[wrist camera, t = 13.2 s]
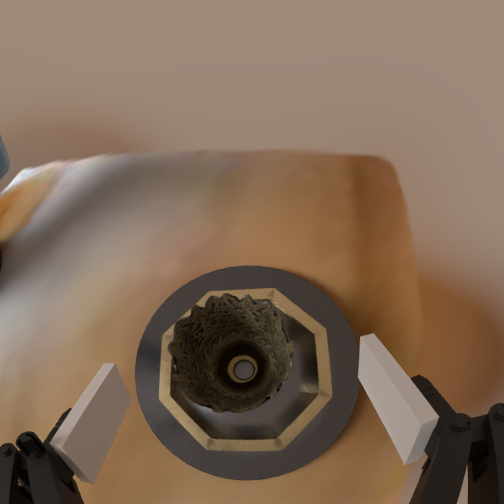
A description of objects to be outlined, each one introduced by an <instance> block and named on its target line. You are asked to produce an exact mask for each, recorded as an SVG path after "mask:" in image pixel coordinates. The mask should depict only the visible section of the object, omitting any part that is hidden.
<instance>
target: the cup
mask: <svg viewBox="0 0 504 504" xmlns="http://www.w3.org/2000/svg"><path fill="white" fill-rule="evenodd" d="M167 349H168V353H169V354H171V356H172V357H173V358H174V368H175V370H176V373H177V374H176V375H175V374H174V375H173V378H174V381H175V382H176V384H177V385H178V386H180V387H181V388H182V389H183V392H184V394H185V395H186V397H187V398H188V399H189V400H190V401H192V402H193V403H195V404H198V405H200V406H203V407H207V408H210V409H212V411H213V412H216V413H223V412H231V413H243V412H247V411H248V410H252V409H255V408H257V407H259V406H261V405H262V404H264V403H266V402H267V400H269V399H271V398H273V397H274V396H275V395H276V394H277V393H278V392H279V391H280V388H281V387H282V386H283V384H284V383H285V382H286V381H287V379H288V377H289V375H290V373H291V370H292V366H293V354H294V343H293V342H290V339H289V336H288V332H287V331H286V329H285V327H284V320H283V317H282V316H281V315H277V313H276V311H275V310H274V308H273V306H272V305H271V304H270V303H269V302H267V301H260V302H256V301H254V300H253V298H252V297H251V296H250V295H249V294H245V295H243V296H242V298H241V300H239V299H238V298H237V297H236V296H233V295H231V294H229V293H224V294H223V295H222V296H220V297H218V296H213V295H212V296H210V297H208V298H207V300H206V302H205V307H200V306H198V305H197V304H194V305H193V306H192V307H191V315H189V316H188V317H183V318H181V319H179V320H178V321H177V322H176V323H175V325H174V329H173V341H170V342H169V344H168V346H167ZM240 361H248V362H250V363H251V364H252V366H253V369H254V371H253V374H252V376H251V377H249V378H247V379H240V378H238V377H237V376H236V375H235V373H234V367H235V365H236V364H237V363H238V362H240Z"/></svg>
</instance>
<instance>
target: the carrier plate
mask: <svg viewBox="0 0 504 504" xmlns="http://www.w3.org/2000/svg"><path fill="white" fill-rule="evenodd" d="M224 293H229V294H231V295H233V296H236V297H237V298H238V299H239V300H241V298H242V296H243V295H245V294H249V295H250V296H251V297H252V298H253V300H254V301H256V302H260V301H267V302H269V303H270V304H271V305H272V306H273V308H274V310H275V311H276V313H277V315H281V316H282V317H283V320H284V327H285V329H286V331H287V332H288V336H289V339H290V342H293V343H294V354H293V366H292V370H291V373H290V375H289V377H288V379H287V381H286V382H285V383H284V384H283V386H282V387H281V388H280V391H279V392H278V393H277V394H276V395H275V396H274V397H273V398H271V399H269V400H267V402H266V403H264V404H262V405H261V406H259V407H257V408H255V409H252V410H248V411H247V412H243V413H231V412H223V413H216V412H213V411H212V409H210V408H207V407H203V406H200V405H198V404H195V403H193V402H192V401H190V400H189V399H188V398H187V397H186V395H185V394H184V392H183V389H182V388H181V387H180V386H178V385H177V384H176V382H175V381H174V378H173V375H174V374H175V375H176V374H177V373H176V370H175V368H174V358H173V357H172V356H171V354H169V353H168V349H167V346H168V344H169V342H170V341H173V329H174V325H175V323H176V322H177V321H178V320H179V319H181V318H183V317H188V316H189V315H191V307H192V306H193V305H194V304H197V305H198V306H200V307H205V302H206V300H207V298H208V297H210V296H212V295H213V296H218V297H220V296H222V295H223V294H224ZM358 369H359V350H358V345H357V342H356V339H355V336H354V334H353V331H352V329H351V327H350V325H349V323H348V321H347V319H346V318H345V316H344V315H343V313H342V312H341V311H340V309H339V308H338V307H337V305H336V304H335V303H334V302H333V301H332V300H331V299H330V298H329V297H328V296H327V295H326V294H325V293H323V292H322V291H321V290H320V289H319V288H317V287H316V286H314V285H313V284H311V283H310V282H308V281H306V280H304V279H302V278H300V277H298V276H296V275H294V274H291V273H288V272H286V271H283V270H279V269H274V268H270V267H262V266H237V267H228V268H224V269H220V270H216V271H213V272H210V273H207V274H204V275H202V276H200V277H198V278H196V279H194V280H192V281H190V282H188V283H187V284H185V285H184V286H182V287H181V288H179V289H178V290H177V291H176V292H174V293H173V294H172V295H171V296H170V297H169V298H168V299H167V300H166V301H165V302H164V303H163V304H162V305H161V306H160V307H159V309H158V310H157V311H156V313H155V314H154V315H153V317H152V318H151V320H150V322H149V323H148V325H147V327H146V329H145V331H144V334H143V336H142V338H141V341H140V345H139V348H138V352H137V358H136V365H135V382H136V390H137V395H138V399H139V403H140V407H141V409H142V412H143V414H144V416H145V419H146V421H147V422H148V424H149V426H150V427H151V429H152V431H153V432H154V434H155V435H156V436H157V438H158V439H159V440H160V441H161V443H162V444H163V445H164V446H165V447H166V448H167V449H168V450H170V451H171V452H172V453H173V454H174V455H175V456H177V457H178V458H179V459H181V460H182V461H184V462H185V463H187V464H188V465H190V466H192V467H194V468H196V469H198V470H200V471H203V472H205V473H208V474H211V475H214V476H218V477H222V478H227V479H234V480H262V479H267V478H272V477H277V476H281V475H283V474H286V473H289V472H292V471H294V470H296V469H298V468H300V467H302V466H304V465H306V464H308V463H310V462H311V461H312V460H314V459H315V458H317V457H318V456H319V455H321V454H322V453H323V452H324V451H325V450H326V449H327V448H328V447H329V446H331V445H332V444H333V442H334V441H335V440H336V439H337V437H338V436H339V435H340V434H341V432H342V431H343V429H344V428H345V426H346V424H347V423H348V421H349V419H350V417H351V415H352V412H353V410H354V407H355V405H356V402H357V398H358V394H359V389H360V380H359V378H358ZM253 371H254V369H253V366H252V364H251V363H250V362H248V361H240V362H238V363H237V364H236V365H235V367H234V373H235V375H236V376H237V377H238V378H240V379H247V378H249V377H251V376H252V374H253Z"/></svg>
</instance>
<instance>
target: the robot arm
mask: <svg viewBox="0 0 504 504" xmlns="http://www.w3.org/2000/svg"><path fill="white" fill-rule="evenodd" d="M9 166H10V161H9V157H8V154H7V151H6V148H5V146H4V143H3V140H2V138H1V136H0V180H1V179H2V178H3V177H4V176H5V175H6V174H7V172H8V169H9ZM1 259H2V256H1V250H0V268H1ZM358 378H359V380H360V382H361V384H362V386H363V387H364V389H365V391H366V393H367V395H368V397H369V398H370V400H371V402H372V404H373V406H374V408H375V409H376V411H377V413H378V415H379V417H380V419H381V421H382V423H383V424H384V426H385V428H386V430H387V432H388V434H389V436H390V438H391V440H392V442H393V443H394V445H395V447H396V449H397V451H398V453H399V455H400V457H401V459H402V461H403V463H404V465H406V464H409V463H411V462H414V461H416V460H418V459H420V458H421V457H422V455H423V453H424V451H425V453H426V454H427V456H428V458H427V460H426V462H425V463H424V465H423V467H422V469H423V471H422V474H421V476H420V479H419V482H418V484H417V487H416V489H415V491H414V494H413V496H412V498H411V501H410V503H409V504H456V503H457V501H458V497H459V494H460V491H461V487H462V483H463V479H464V475H465V471H466V467H467V465H468V504H504V403H498V404H495V405H493V406H492V407H491V408H490V410H489V412H488V414H486V415H482V416H478V417H474V418H470V417H469V416H468V415H465V414H462V413H456V412H455V411H454V410H453V409H452V408H451V406H450V405H449V404H448V403H447V402H446V400H445V399H444V398H443V397H442V396H441V394H440V393H438V391H437V390H436V388H434V386H433V385H432V384H431V382H430V381H429V380H428V379H426V378H424V377H422V376H421V375H417V376H414V377H412V378H409V377H408V375H407V374H406V373H405V372H404V370H403V369H402V368H401V367H400V365H399V364H398V363H397V361H396V360H395V359H394V358H393V356H392V355H391V354H390V353H389V352H388V350H387V349H386V348H385V347H384V345H383V344H382V343H381V342H380V340H379V339H378V338H377V337H376V336H375V334H374V333H373V334H369V335H365V336H360V353H359V369H358ZM131 401H132V400H131V398H130V396H129V393H128V391H127V389H126V387H125V385H124V383H123V380H122V378H121V376H120V374H119V371H118V369H117V367H116V364H115V363H104V364H103V366H102V367H101V368H100V370H99V371H98V373H97V374H96V375H95V377H94V378H93V380H92V381H91V382H90V384H89V385H88V387H87V388H86V389H85V391H84V392H83V394H82V395H81V397H80V398H79V399H78V401H77V402H76V404H75V405H74V407H73V408H69V409H68V410H67V411H66V412H64V413H63V414H62V416H61V417H60V419H59V422H57V423H56V425H55V427H54V428H53V429H52V430H51V432H50V433H49V435H48V437H47V438H46V440H45V441H44V443H42V442H41V440H40V439H39V438H38V436H37V435H36V434H35V433H34V432H30V431H28V432H24V433H22V434H21V435H20V436H18V438H17V440H16V445H17V446H18V447H19V449H20V450H21V451H18V450H17V448H16V447H15V446H14V445H13V444H11V443H5V444H3V445H1V447H0V504H84V502H83V500H82V497H81V495H80V492H79V490H78V487H77V484H76V482H75V480H74V479H73V476H74V474H75V475H76V476H77V477H78V478H79V479H80V480H81V481H85V482H88V483H92V484H94V482H95V480H96V477H97V475H98V473H99V470H100V468H101V466H102V463H103V461H104V459H105V457H106V454H107V452H108V450H109V448H110V446H111V443H112V441H113V439H114V437H115V435H116V432H117V430H118V428H119V426H120V424H121V422H122V420H123V417H124V415H125V413H126V411H127V409H128V407H129V405H130V403H131ZM18 479H19V480H20V481H21V486H20V485H19V484H18Z"/></svg>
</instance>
